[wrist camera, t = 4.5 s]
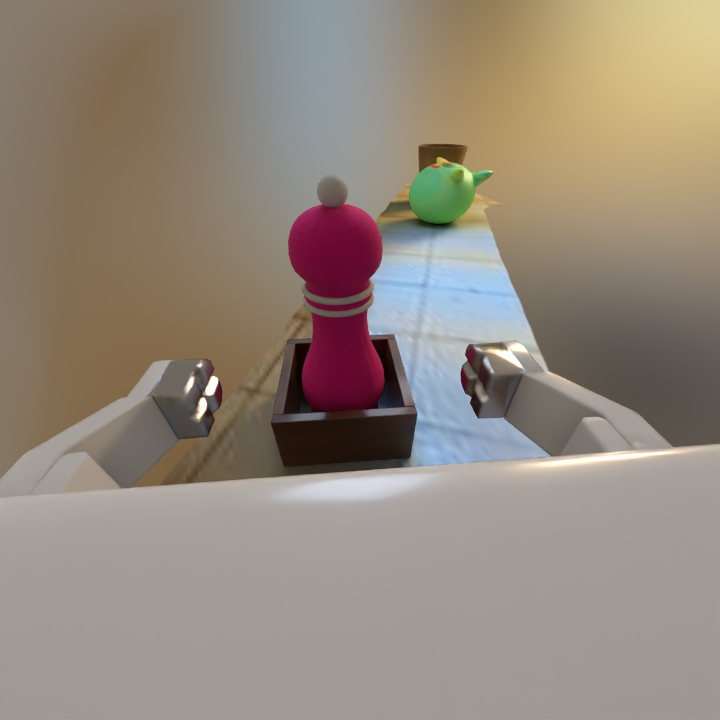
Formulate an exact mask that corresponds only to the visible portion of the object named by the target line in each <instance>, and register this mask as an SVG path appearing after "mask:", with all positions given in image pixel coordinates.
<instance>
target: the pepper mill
mask: <svg viewBox="0 0 720 720" xmlns="http://www.w3.org/2000/svg"><path fill="white" fill-rule="evenodd" d="M317 195H318V198H319V200H320V202H321V203H322V205H318V206H315V207H312V208H310V209H308V210H307V211H305V212H304V213H303V214H301V215H300V216H299V217H298V218H297V219H296V221H295V222H294V224H293V226H292V228H291V231H290V235H289V240H288V247H289V257H290V261H291V264H292V266H293V268H294V270H295V272H296V273H297V274H298V275H299V276H300V277H301V278H303V279H304V280H305V281H304V283H303V285H302V292H303V294H304V299H303V302H304V305H305V307H306V308H307V309H308V310H309V311H311V313H312V318H313V336H312V342H311V345H310V348H309V351H308V354H307V357H306V360H305V362H304V366H303V372H302V388H303V393H304V396H305V398H306V400H307V401H308V403H309V404H310V405H311V408H312V413H317V412H333V411H349V410H365V409H378V401H379V399H380V398H381V396H382V394H383V391H384V370H383V366H382V363H381V360H380V358H379V356H378V354H377V352H376V350H375V348H374V346H373V344H372V342H371V339H370V335H369V332H368V323H367V310H368V308H369V307H370V306H371V305H372V303H373V300H374V296H373V293H372V292H373V290H374V284H373V281H372V280H371V279H370V277H371V276H372V275H373V274H374V273H375V272H376V270H377V269H378V267H379V265H380V263H381V260H382V238H381V235H380V232H379V229H378V226H377V225H376V223H375V222H374V220H373V219H372V218H371V217H370V216H369V215H368V214H367V213H366V212H365V211H363V210H361V209H359V208H357V207H355V206H352V205H348V204H344V203H345V201H346V199H347V196H348V189H347V185H346V184H345V181H344V180H343V179H342V178H341V177H340V176H338V175H336V174H328V175H326V176H324V177H323V178H322V179H321V180H320V182H319V183H318V187H317Z"/></svg>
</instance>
